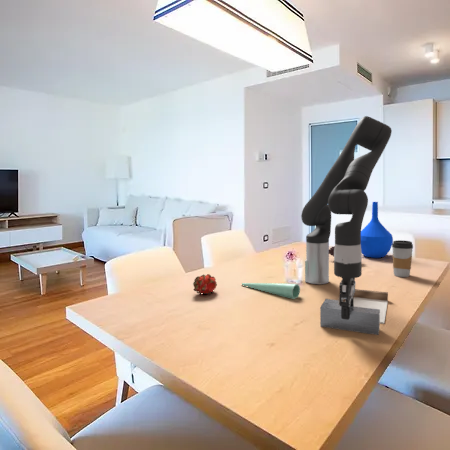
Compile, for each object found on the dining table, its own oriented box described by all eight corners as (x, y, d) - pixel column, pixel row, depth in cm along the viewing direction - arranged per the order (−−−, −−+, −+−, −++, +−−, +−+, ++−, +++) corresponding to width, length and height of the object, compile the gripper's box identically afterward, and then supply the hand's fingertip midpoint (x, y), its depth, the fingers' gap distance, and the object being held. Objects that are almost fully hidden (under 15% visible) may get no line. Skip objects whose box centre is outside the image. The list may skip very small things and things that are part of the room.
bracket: (320, 326, 108) (320, 307, 108) (325, 317, 116) (325, 298, 115) (378, 335, 101) (379, 314, 101) (380, 324, 108) (380, 305, 108)
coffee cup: (394, 272, 166) (394, 239, 164) (414, 274, 161) (415, 241, 159) (388, 276, 160) (389, 242, 158) (409, 278, 155) (410, 244, 153)
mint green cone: (245, 272, 155) (300, 282, 136) (245, 284, 155) (300, 296, 137) (237, 274, 151) (292, 285, 132) (237, 287, 151) (292, 300, 133)
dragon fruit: (192, 301, 139) (213, 297, 149) (206, 291, 135) (227, 288, 144) (184, 281, 143) (205, 279, 152) (198, 271, 138) (218, 269, 147)
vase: (367, 251, 213) (368, 200, 210) (398, 255, 199) (400, 201, 195) (350, 256, 202) (350, 202, 198) (382, 261, 188) (383, 203, 184)
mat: (337, 317, 115) (337, 316, 115) (347, 297, 134) (347, 296, 134) (384, 323, 109) (384, 322, 109) (387, 301, 128) (387, 300, 128)
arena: (332, 316, 116) (332, 307, 115) (343, 295, 136) (343, 287, 135) (384, 323, 109) (384, 314, 109) (387, 300, 129) (387, 292, 129)
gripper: (338, 253, 113) (338, 304, 114) (329, 263, 100) (330, 320, 102) (364, 255, 109) (363, 307, 111) (358, 265, 97) (358, 324, 98)
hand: (347, 313), depth 106 cm, fingers open, 8 cm apart
